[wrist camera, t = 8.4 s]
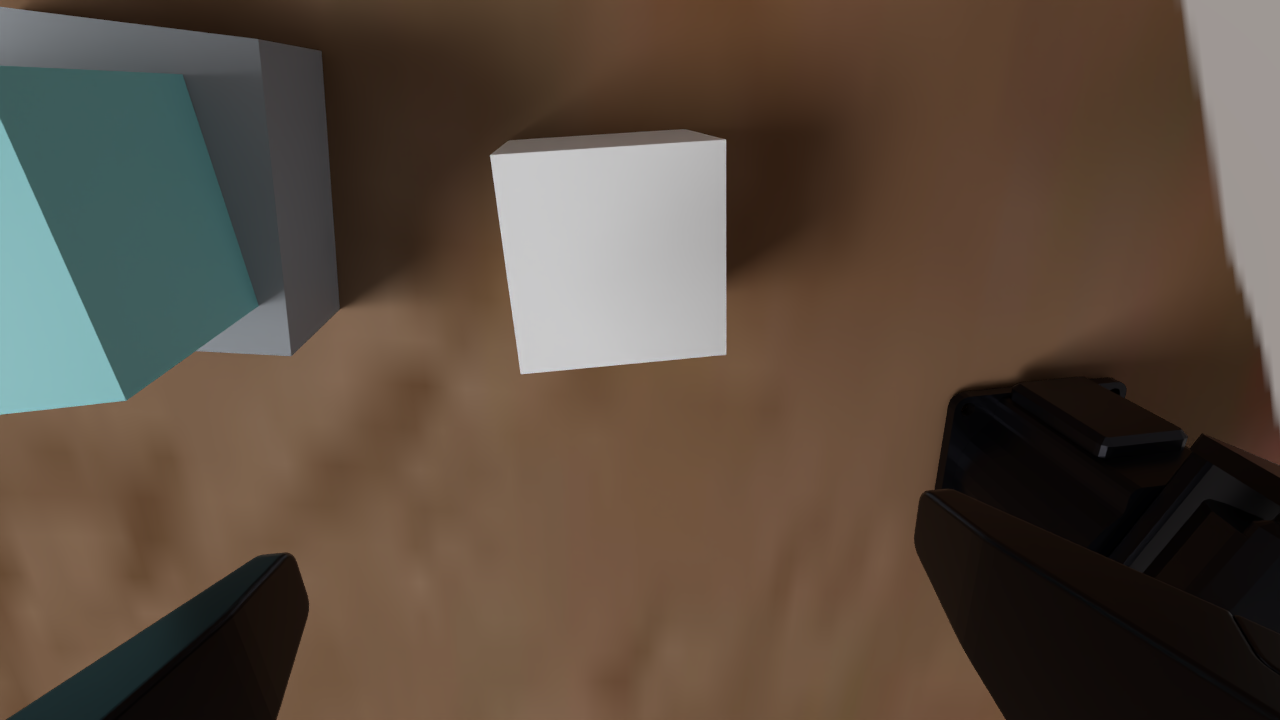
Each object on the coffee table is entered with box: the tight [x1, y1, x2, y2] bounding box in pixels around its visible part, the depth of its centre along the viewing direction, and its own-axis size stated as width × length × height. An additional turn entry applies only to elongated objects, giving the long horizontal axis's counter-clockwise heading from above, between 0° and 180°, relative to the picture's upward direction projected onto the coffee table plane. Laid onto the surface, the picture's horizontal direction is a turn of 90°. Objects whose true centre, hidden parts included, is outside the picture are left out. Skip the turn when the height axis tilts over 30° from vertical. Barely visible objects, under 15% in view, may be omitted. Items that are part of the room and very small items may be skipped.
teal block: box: [0, 66, 259, 415], centre depth 11 cm, size 5×5×5 cm
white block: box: [490, 129, 726, 374], centre depth 17 cm, size 5×5×5 cm
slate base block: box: [0, 7, 340, 356], centre depth 15 cm, size 7×7×4 cm
